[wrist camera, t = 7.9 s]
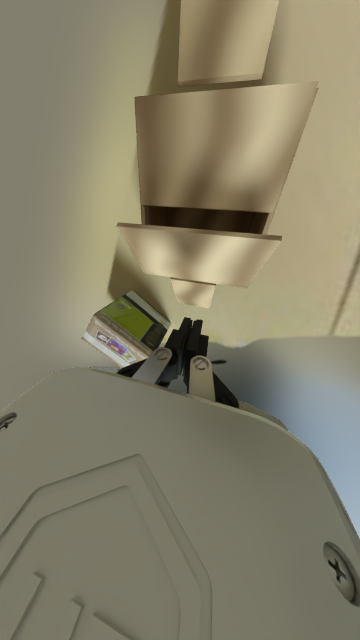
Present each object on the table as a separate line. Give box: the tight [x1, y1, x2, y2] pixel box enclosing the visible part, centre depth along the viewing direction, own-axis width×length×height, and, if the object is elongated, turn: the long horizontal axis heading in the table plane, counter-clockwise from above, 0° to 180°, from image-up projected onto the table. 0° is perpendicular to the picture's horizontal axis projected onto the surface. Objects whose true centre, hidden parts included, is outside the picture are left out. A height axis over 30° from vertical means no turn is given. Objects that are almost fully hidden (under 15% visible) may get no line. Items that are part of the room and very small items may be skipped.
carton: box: [135, 88, 318, 235], centre depth 21 cm, size 16×16×12 cm
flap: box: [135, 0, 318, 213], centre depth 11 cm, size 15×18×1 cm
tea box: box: [81, 290, 171, 368], centre depth 36 cm, size 15×10×15 cm, turn 49°
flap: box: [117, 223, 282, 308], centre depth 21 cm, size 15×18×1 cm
